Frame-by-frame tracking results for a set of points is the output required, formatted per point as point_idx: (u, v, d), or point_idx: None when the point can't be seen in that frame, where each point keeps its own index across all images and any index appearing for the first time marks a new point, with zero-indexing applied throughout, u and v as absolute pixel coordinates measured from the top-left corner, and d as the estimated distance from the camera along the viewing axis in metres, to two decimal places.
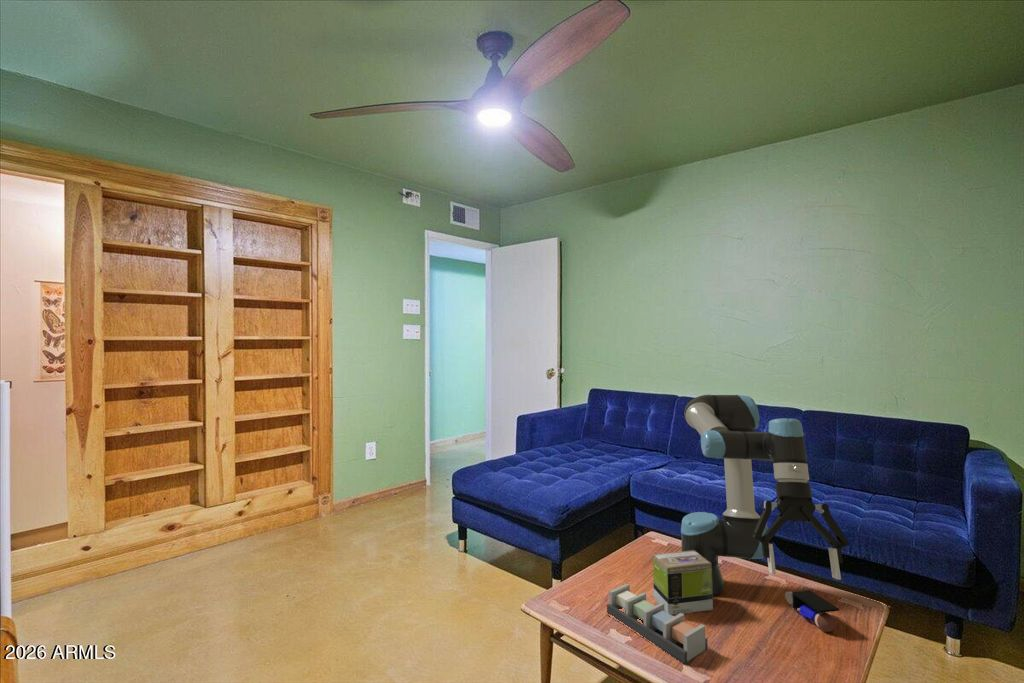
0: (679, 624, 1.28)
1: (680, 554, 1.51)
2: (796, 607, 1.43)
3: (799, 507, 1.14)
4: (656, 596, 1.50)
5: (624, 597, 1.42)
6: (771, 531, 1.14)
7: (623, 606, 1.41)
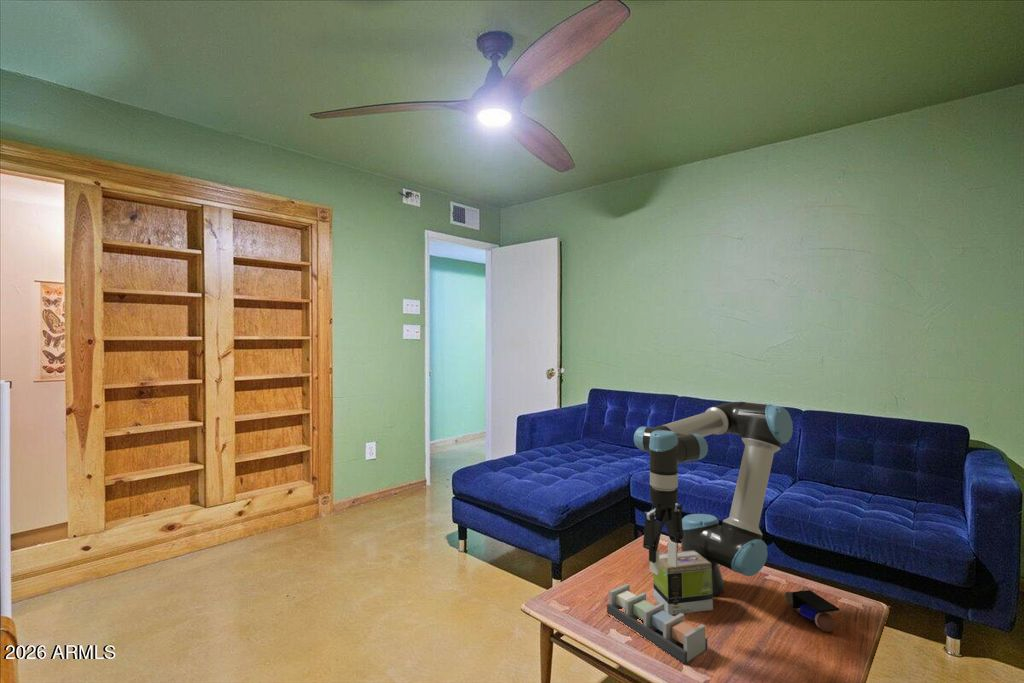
0: (679, 624, 1.28)
1: (680, 554, 1.51)
2: (796, 607, 1.43)
3: None
4: (656, 596, 1.50)
5: (624, 597, 1.42)
6: None
7: (623, 606, 1.41)
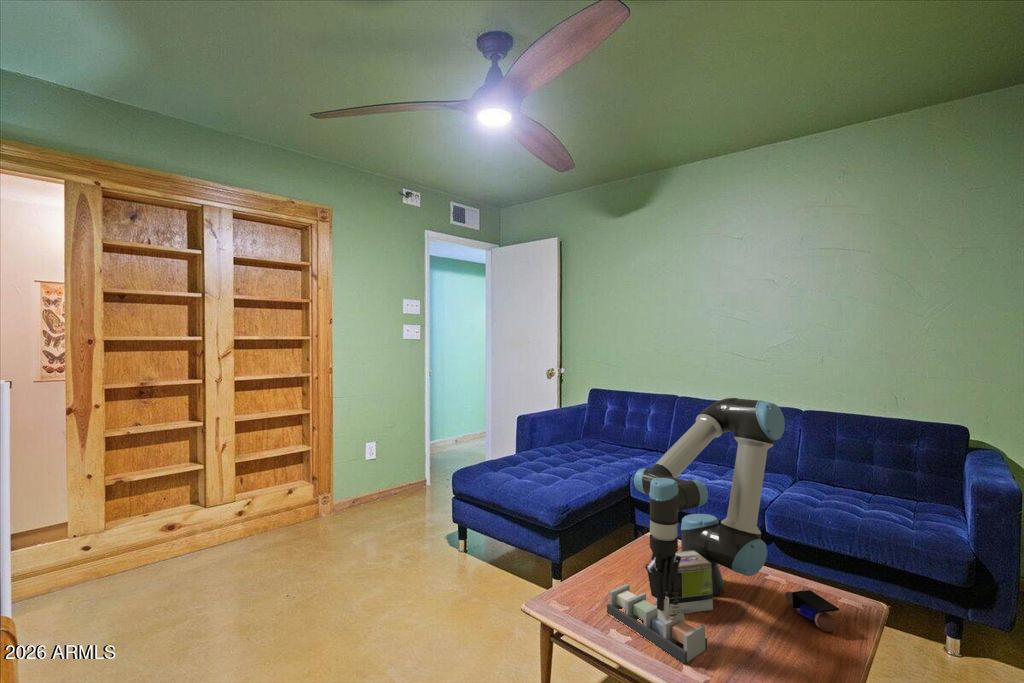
0: (679, 624, 1.28)
1: (680, 554, 1.51)
2: (796, 607, 1.43)
3: None
4: None
5: (624, 597, 1.42)
6: None
7: (623, 606, 1.41)
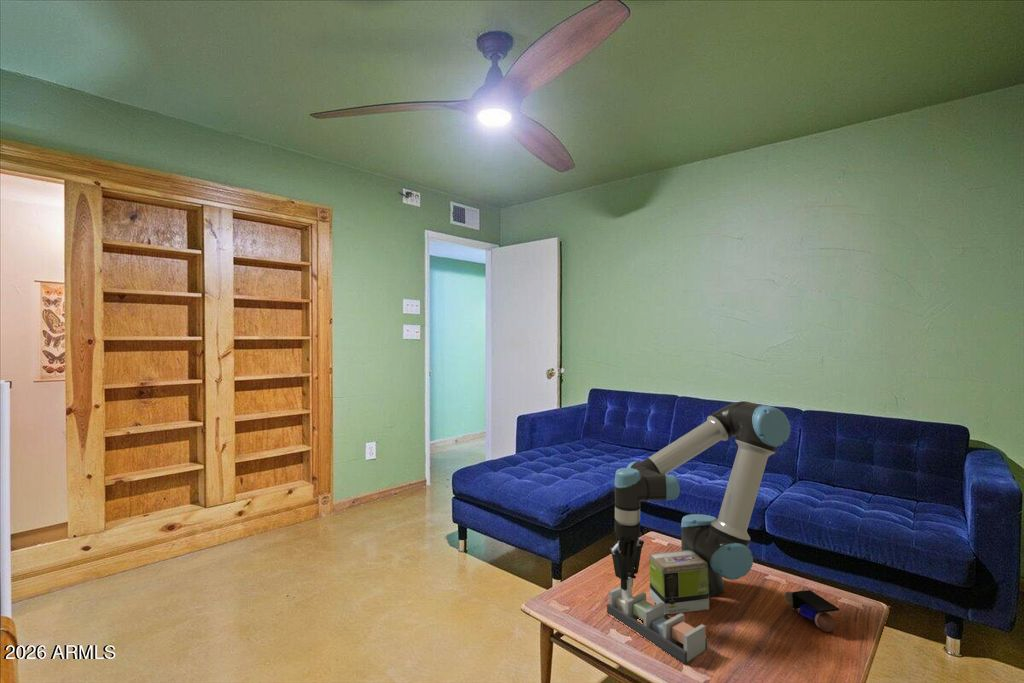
0: (679, 624, 1.28)
1: (677, 554, 1.51)
2: (796, 607, 1.43)
3: None
4: (652, 596, 1.50)
5: (624, 601, 1.42)
6: None
7: (623, 610, 1.41)
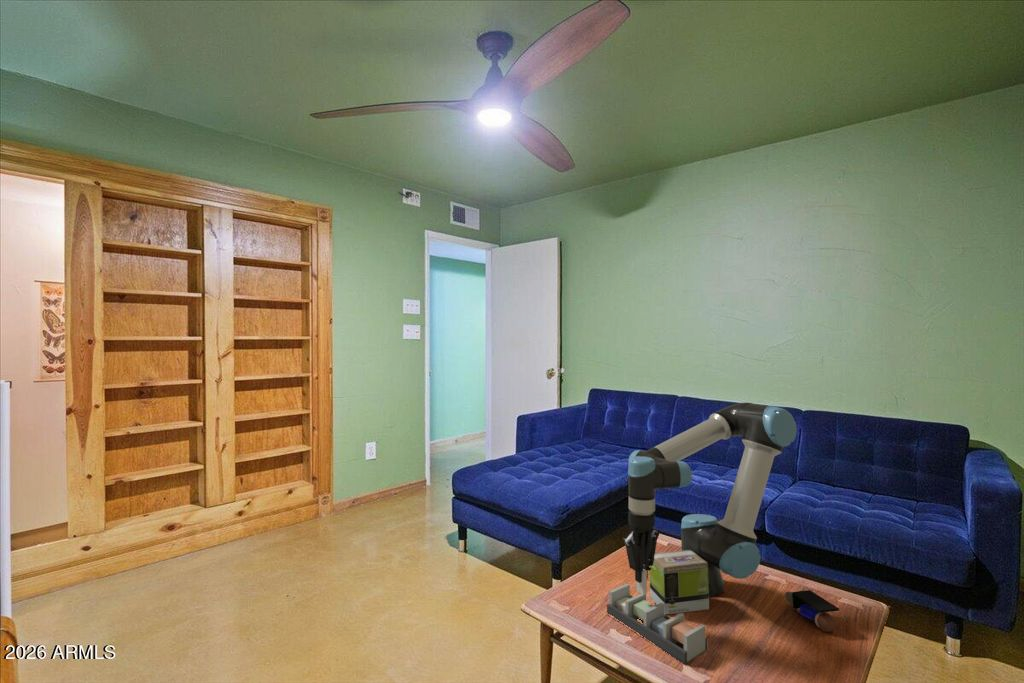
0: (679, 624, 1.28)
1: (677, 554, 1.51)
2: (796, 607, 1.43)
3: None
4: (652, 596, 1.50)
5: (624, 604, 1.42)
6: None
7: None
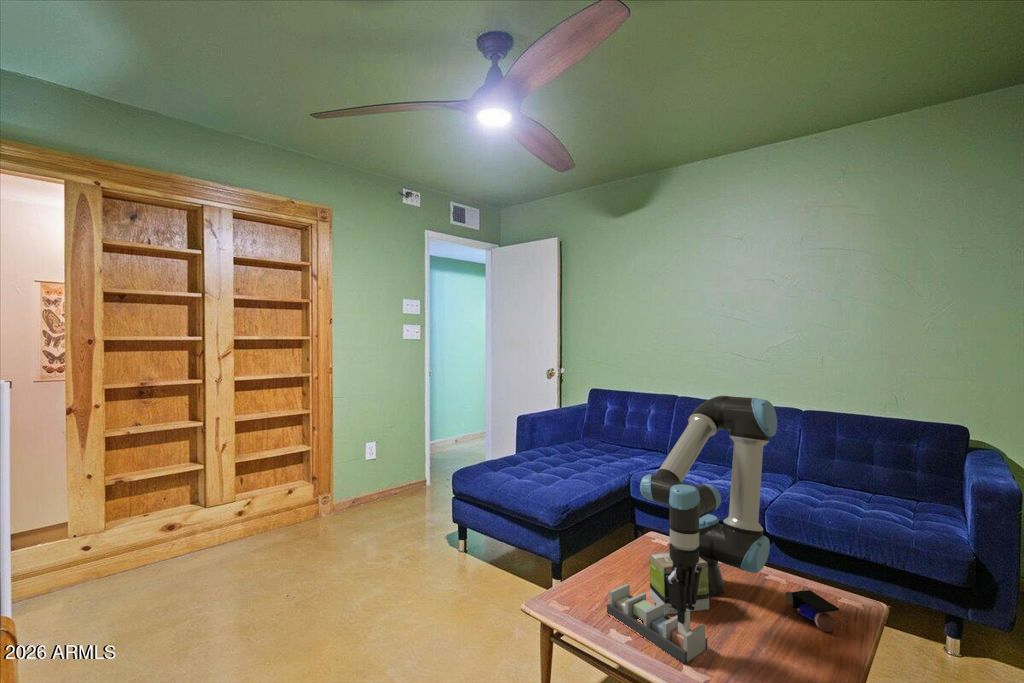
0: None
1: None
2: (796, 607, 1.43)
3: None
4: (652, 596, 1.50)
5: (624, 604, 1.42)
6: None
7: None
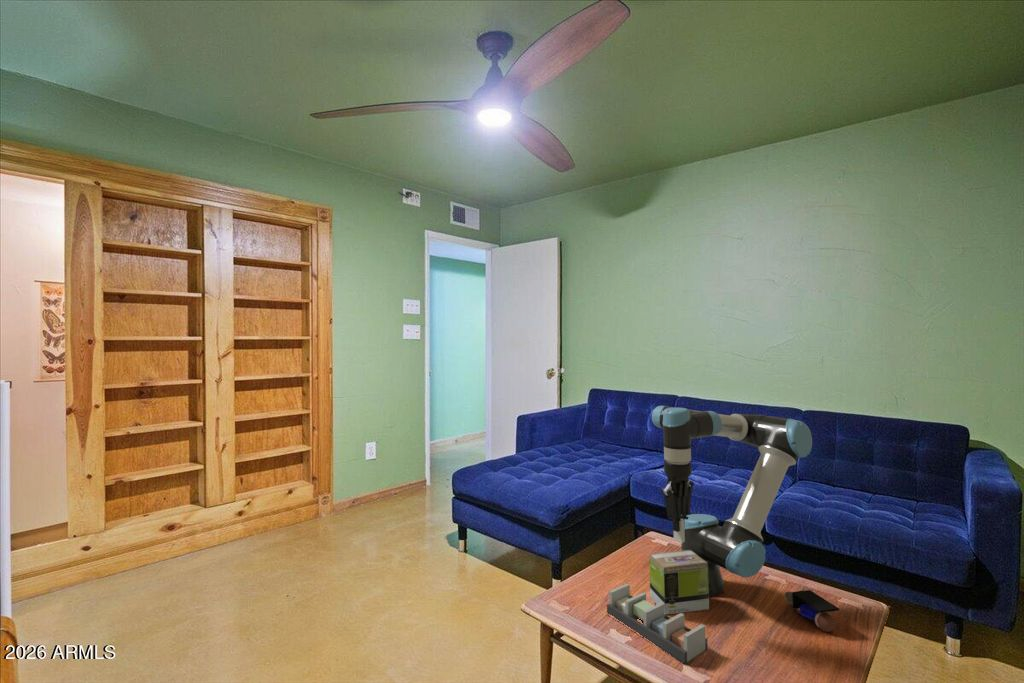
0: (679, 631, 1.28)
1: (677, 554, 1.51)
2: (796, 607, 1.43)
3: None
4: (652, 596, 1.50)
5: (624, 604, 1.42)
6: None
7: None
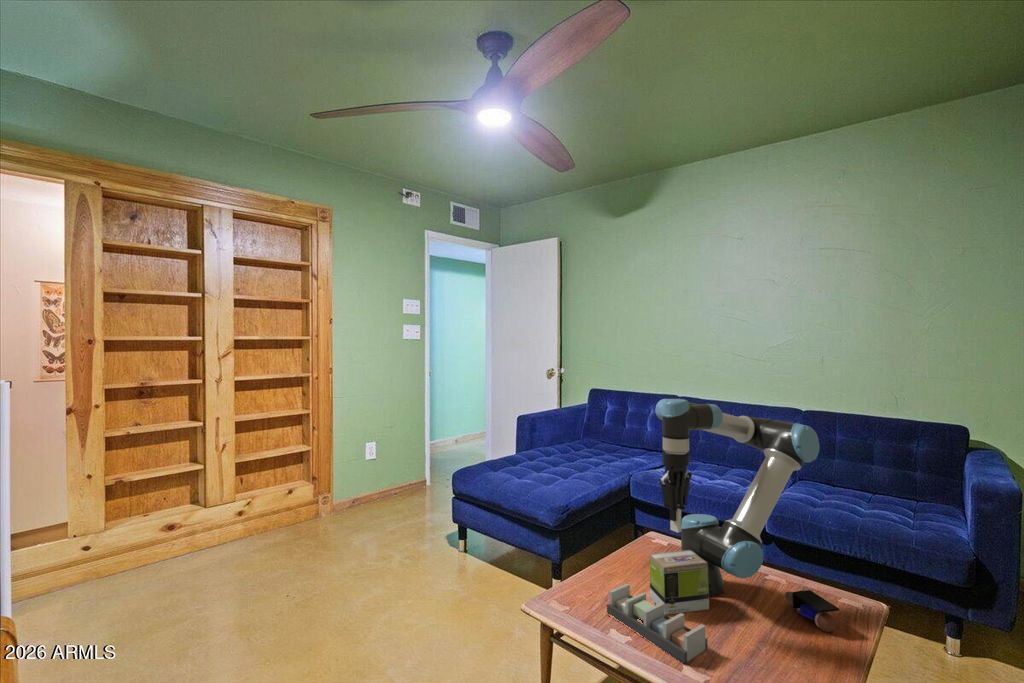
0: (679, 631, 1.28)
1: (677, 554, 1.51)
2: (796, 607, 1.43)
3: None
4: (652, 596, 1.50)
5: (624, 604, 1.42)
6: None
7: None
